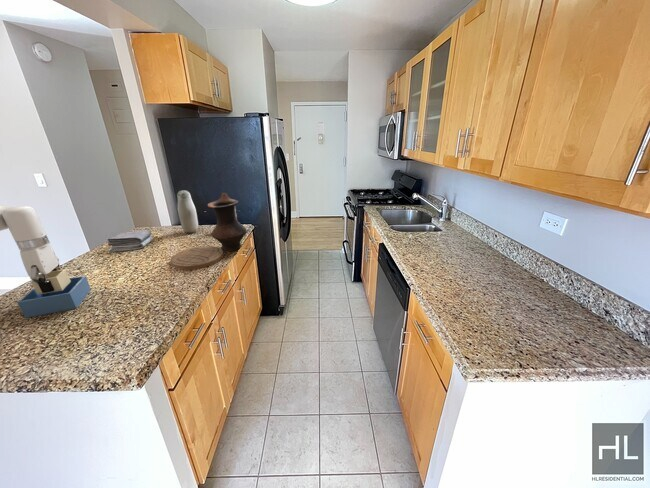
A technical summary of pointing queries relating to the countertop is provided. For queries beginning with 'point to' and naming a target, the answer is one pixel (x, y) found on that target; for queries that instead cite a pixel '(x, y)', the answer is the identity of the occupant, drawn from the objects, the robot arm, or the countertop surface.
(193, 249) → the trivet
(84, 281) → the blue bin
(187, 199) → the white rounded column
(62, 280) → the cream bin
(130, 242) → the towel
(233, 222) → the jug
